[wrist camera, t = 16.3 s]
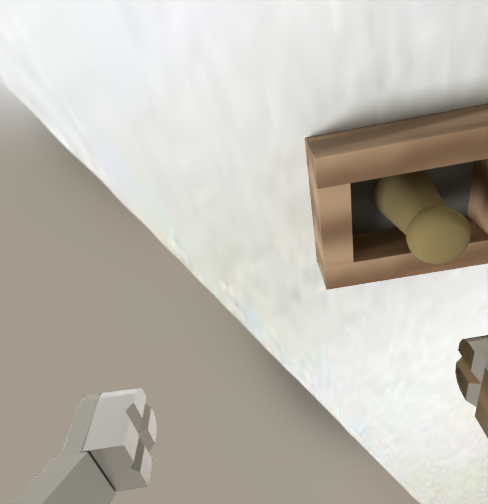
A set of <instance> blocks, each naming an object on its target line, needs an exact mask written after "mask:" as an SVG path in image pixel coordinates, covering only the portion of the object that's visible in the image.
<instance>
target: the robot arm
mask: <svg viewBox="0 0 488 504" xmlns="http://www.w3.org/2000/svg"><path fill="white" fill-rule="evenodd" d="M458 351H459V352H460V354H461V355H462V357H461V358H460V359H459V360H458V361H457V362H456V371H455V372H456V378H457V383H458V385H459V388H460V390H461V392H462V394H463V396H464V398H465V400H466V401H468V402H470V403H471V404H473V405H474V406H476V407H477V408H476V413H475V417H476V419H477V421H478V422H479V424H480V426H481V427H482V429H483V431H484V433H485V434H486V436H487V438H488V335H486V336H480V337H474V338H468V339H462V340H461V342H460V343H459V349H458ZM145 400H146V395H145V393H144V391H143V390H142V389H131V390H123V391H115V392H107V393H100V394H92V395H85V396H83V398H82V399H81V400H80V402H79V404H78V407H77V410H76V413H75V415H74V418H73V421H72V424H71V427H70V430H69V432H68V435H67V438H66V441H65V444H64V446H63V449H62V452H61V455H60V456H55V457H54V458H53V459H52V460H51V461H50V462H49V463H48V464H47V465H46V466H45V467H44V468H43V469H42V470H41V472H39V474H38V475H37V476H36V477H35V478H34V479H33V480H32V481H31V482H30V483H29V484H28V485H27V486H26V487H25V488H24V489H23V490H22V492H21V493H20V494H19V495H18V496H17V497H16V498H15V499H14V500H13V501H12V502H11V503H10V504H110V502H111V501H112V499H113V498H114V496H115V495H116V493H115V492H117V491H124V490H130V489H136V488H142V487H148V485H149V479H150V473H151V467H152V458H151V457H150V455H149V453H148V452H149V451H150V449H151V448H152V447H153V445H154V444H155V440H156V433H157V431H156V418H155V415H154V412H153V410H152V407H150V406H148V405H147V404H145Z"/></svg>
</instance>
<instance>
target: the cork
mask: <svg viewBox="0 0 488 504" xmlns="http://www.w3.org/2000/svg"><path fill="white" fill-rule="evenodd" d="M372 199H373V202H374V204H375V207H376V208H377V209H378V210H379V211H380V212H381V213H382V214H384V215H385V216H386V217H387V218H388V219H389V220H390V221H391V222H392V223H393V224H394V225H396V226H397V227H398V228H399V229H400V230H401V231H402V232H403V233H404V234H405V235H406V241H407V244H408V247H409V249H410V251H411V252H412V253H413V254H414V255H415V256H416V257H417V258H418V259H420V260H422V261H424V262H426V263H433V264H441V263H446V262H449V261H451V260H454V259H455V258H456V257H458V256H459V255H461V254H462V253H463V251H464V250H465V249H466V248H467V246H468V244H469V241H470V235H471V230H470V226H469V223H468V221H467V219H466V218H465V217H464V216H463V215H462V214H461V213H460V212H459V211H457V210H455V209H453V208H450V207H448V206H446V204H445V203H444V201H443V200H442V198H441V196H440V195H439V193H438V191H437V190H436V188H435V187H434V185H433V183H432V182H431V180H430V178H429V177H428V175H427V174H426V173H425V171H424V170H421V171H416V172H410V173H405V174H399V175H394V176H388V177H382V178H379V179H378V180H377V182H376V183H375V185H374V188H373V191H372Z"/></svg>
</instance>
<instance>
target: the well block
mask: <svg viewBox="0 0 488 504" xmlns="http://www.w3.org/2000/svg"><path fill="white" fill-rule="evenodd" d="M305 145H306V155H307V165H308V175H309V185H310V195H311V205H312V215H313V225H314V235H315V245H316V255H317V262H318V265H319V268H320V271H321V274H322V277H323V280H324V283H325V286H326V289H333V288H340V287H346V286H352V285H358V284H364V283H370V282H376V281H382V280H389V279H395V278H401V277H407V276H413V275H419V274H425V273H431V272H438V271H444V270H450V269H456V268H462V267H468V266H474V265H481V264H487V263H488V104H485V105H480V106H474V107H469V108H464V109H458V110H453V111H448V112H442V113H437V114H432V115H426V116H421V117H416V118H410V119H405V120H400V121H394V122H389V123H384V124H379V125H373V126H368V127H363V128H357V129H352V130H347V131H341V132H336V133H331V134H325V135H320V136H315V137H309V138H305ZM421 170H424V171H425V173H426V174H427V175H428V177H429V178H430V180H431V182H432V183H433V185H434V187H435V188H436V190H437V191H438V193H439V195H440V196H441V198H442V200H443V201H444V203H445V204H446V206H448V207H450V208H453V209H455V210H457V211H459V212H460V213H461V214H462V215H463V216H464V217H465V218H466V219H467V221H468V223H469V226H470V230H471V235H470V241H469V244H468V246H467V248H466V249H465V250H464V251H463V253H462V254H461V255H459V256H458V257H456V258H455V259H454V260H451V261H449V262H446V263H441V264H433V263H426V262H424V261H422V260H420V259H418V258H417V257H416V256H415V255H414V254H413V253H412V252H411V251H410V249H409V247H408V244H407V241H406V235H405V234H404V233H403V232H402V231H401V230H400V229H399V228H398V227H397V226H396V225H394V224H393V223H392V222H391V221H390V220H389V219H388V218H387V217H386V216H385V215H384V214H382V213H381V212H380V211H379V210H378V209H377V208H376V207H375V204H374V202H373V199H372V191H373V188H374V185H375V183H376V182H377V180H378V179H379V178H382V177H388V176H394V175H399V174H405V173H410V172H416V171H421Z"/></svg>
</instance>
